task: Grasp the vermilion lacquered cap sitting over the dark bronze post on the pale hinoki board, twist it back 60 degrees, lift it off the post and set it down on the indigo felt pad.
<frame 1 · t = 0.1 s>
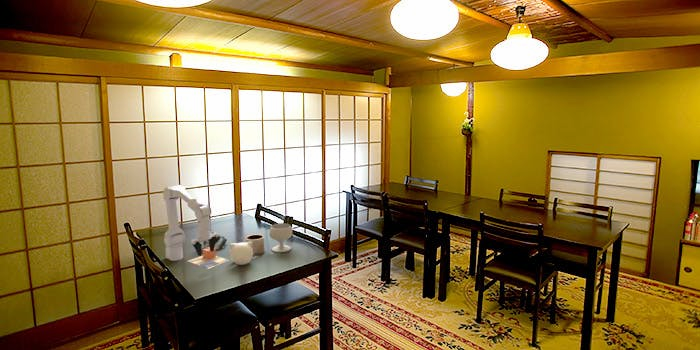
hand: (205, 253, 202), 10 cm above the table, fingers open, 7 cm apart
planter: (255, 252, 231), on the table
cat head: (242, 264, 212), on the table
lucky cat figurine: (214, 249, 235), on the table
chalice: (281, 249, 235), on the table
cap: (209, 257, 219), point 1 cm above the table, touching board
board: (208, 262, 215), on the table
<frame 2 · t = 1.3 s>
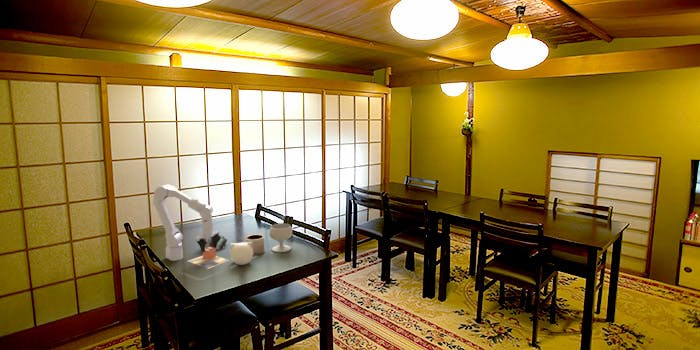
hand: (209, 249, 219), 6 cm above the table, fingers open, 7 cm apart
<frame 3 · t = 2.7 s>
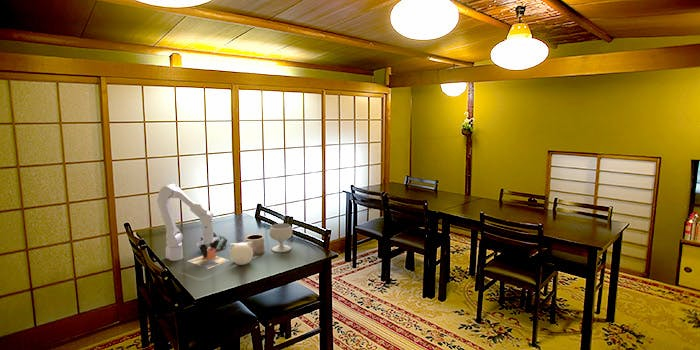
hand: (209, 255, 219), 2 cm above the table, fingers closed on cap, 5 cm apart
cap: (209, 257, 219), point 1 cm above the table, touching board, gripper
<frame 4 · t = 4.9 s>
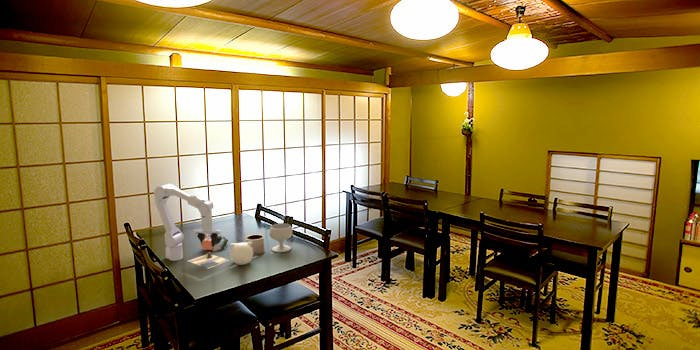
hand: (208, 246, 214), 9 cm above the table, fingers closed on cap, 5 cm apart
cap: (208, 248, 214), point 8 cm above the table, touching gripper
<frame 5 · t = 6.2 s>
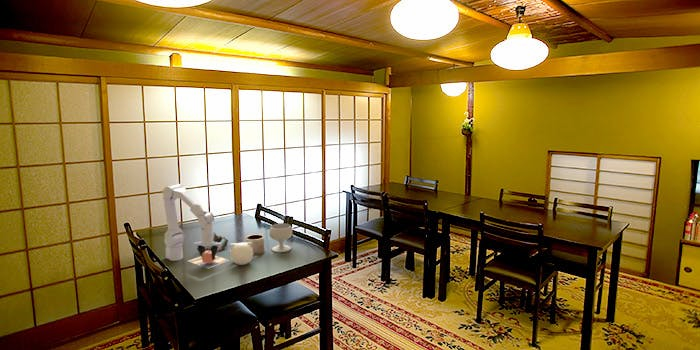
hand: (208, 258, 209), 4 cm above the table, fingers closed on cap, 5 cm apart
cap: (209, 260, 209), point 3 cm above the table, touching gripper
when the fingers open (4 cm above the table, at t = 7.3 s): cap stays where it is, resting on board.
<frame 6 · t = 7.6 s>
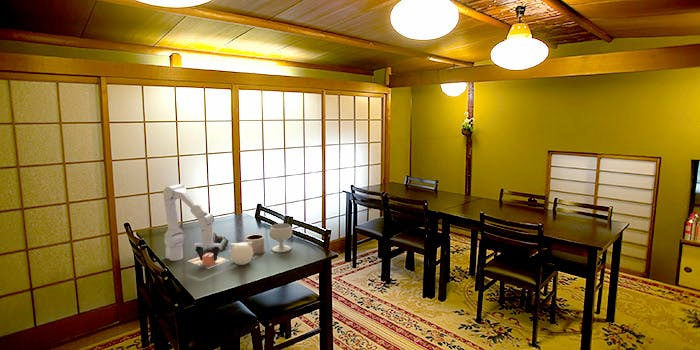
hand: (208, 260, 209), 4 cm above the table, fingers open, 7 cm apart
cap: (209, 263, 210), point 1 cm above the table, touching board
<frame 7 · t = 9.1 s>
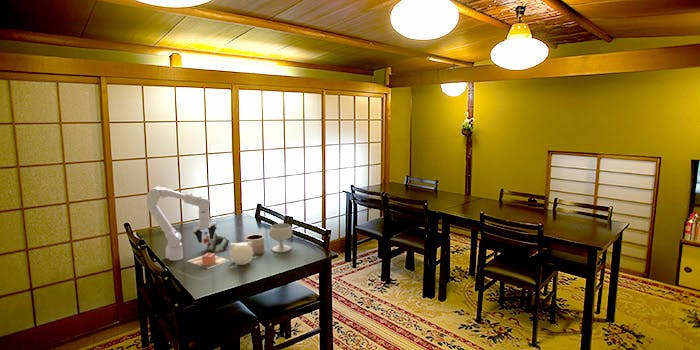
hand: (205, 240, 222), 10 cm above the table, fingers open, 7 cm apart
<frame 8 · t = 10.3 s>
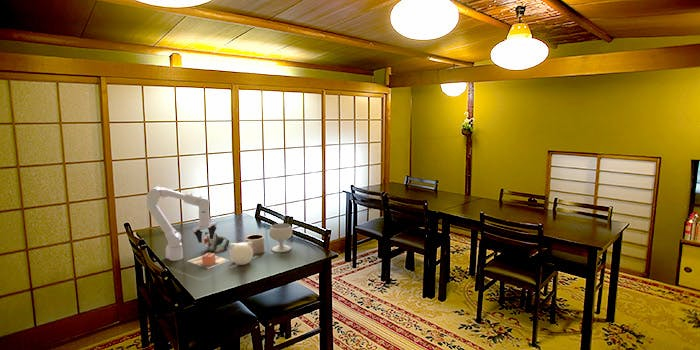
hand: (205, 240, 222), 10 cm above the table, fingers open, 7 cm apart
at the end: cap 0.2 cm from the target spot on the board, point 1.5 cm above the board's base; cap tilted 0°; the gripper is holding nothing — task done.
